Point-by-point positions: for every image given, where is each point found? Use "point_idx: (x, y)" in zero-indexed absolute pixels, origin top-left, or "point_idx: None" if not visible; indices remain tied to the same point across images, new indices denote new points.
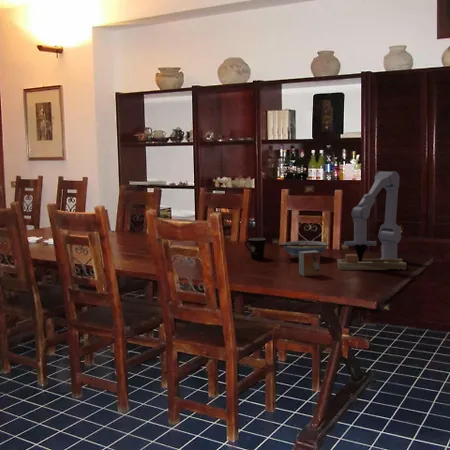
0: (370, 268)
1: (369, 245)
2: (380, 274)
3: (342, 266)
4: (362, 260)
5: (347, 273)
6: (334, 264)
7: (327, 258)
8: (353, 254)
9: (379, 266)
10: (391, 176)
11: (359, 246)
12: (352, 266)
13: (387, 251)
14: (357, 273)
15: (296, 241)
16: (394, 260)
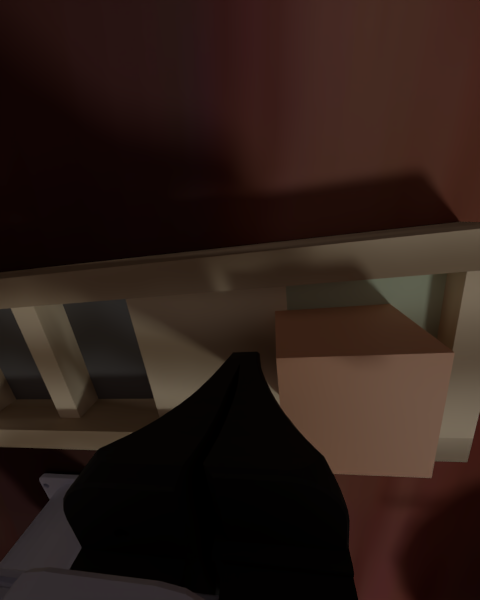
0: (165, 255)
1: (13, 573)
2: (54, 18)
3: (449, 227)
4: None
5: (407, 4)
6: None
7: (447, 592)
8: (327, 442)
9: (85, 266)
10: None
11: (229, 556)
12: (331, 238)
13: (46, 562)
14: (286, 31)
15: None
16: (10, 423)
